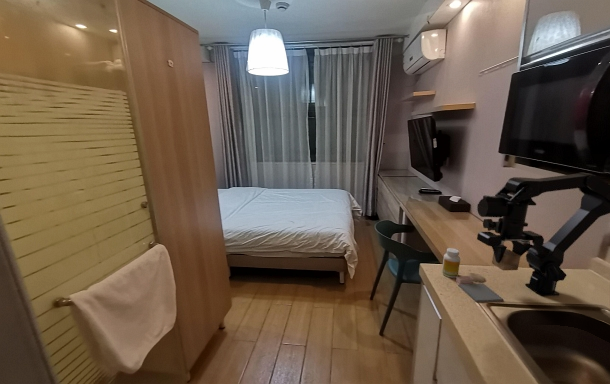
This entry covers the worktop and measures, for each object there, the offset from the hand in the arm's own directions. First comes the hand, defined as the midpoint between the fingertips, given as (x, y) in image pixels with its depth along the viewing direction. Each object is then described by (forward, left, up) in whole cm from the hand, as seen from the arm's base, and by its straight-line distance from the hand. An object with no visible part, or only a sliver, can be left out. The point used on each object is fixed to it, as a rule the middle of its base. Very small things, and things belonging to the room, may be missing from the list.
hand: (505, 262), depth 91 cm
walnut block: (0, 0, -2) cm, 2 cm away
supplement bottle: (+12, -10, -10) cm, 18 cm away
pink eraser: (+10, -4, -10) cm, 15 cm away
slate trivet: (+9, +2, -10) cm, 13 cm away
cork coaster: (+4, -7, -10) cm, 13 cm away
